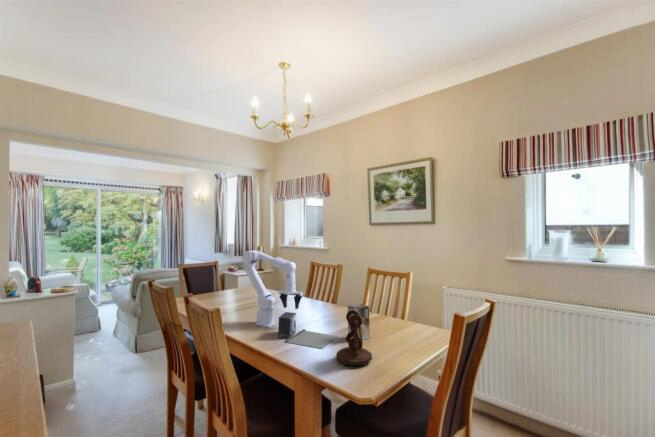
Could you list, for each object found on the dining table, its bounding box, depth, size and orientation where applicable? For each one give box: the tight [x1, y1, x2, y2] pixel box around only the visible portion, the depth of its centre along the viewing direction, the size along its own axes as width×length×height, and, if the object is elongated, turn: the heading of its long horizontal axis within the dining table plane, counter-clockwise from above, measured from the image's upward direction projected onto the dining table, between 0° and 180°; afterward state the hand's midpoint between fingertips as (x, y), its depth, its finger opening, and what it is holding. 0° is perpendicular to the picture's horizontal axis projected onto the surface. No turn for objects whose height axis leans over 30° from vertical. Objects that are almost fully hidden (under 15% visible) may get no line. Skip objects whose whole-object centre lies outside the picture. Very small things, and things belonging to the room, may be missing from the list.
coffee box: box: [347, 303, 371, 341], centre depth 156 cm, size 9×6×16 cm
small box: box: [277, 311, 297, 340], centre depth 161 cm, size 11×6×10 cm, turn 168°
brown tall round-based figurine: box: [335, 310, 373, 367], centre depth 130 cm, size 15×15×20 cm
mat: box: [284, 328, 338, 350], centre depth 155 cm, size 20×18×1 cm
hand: (291, 308), depth 174 cm, fingers open, 7 cm apart
